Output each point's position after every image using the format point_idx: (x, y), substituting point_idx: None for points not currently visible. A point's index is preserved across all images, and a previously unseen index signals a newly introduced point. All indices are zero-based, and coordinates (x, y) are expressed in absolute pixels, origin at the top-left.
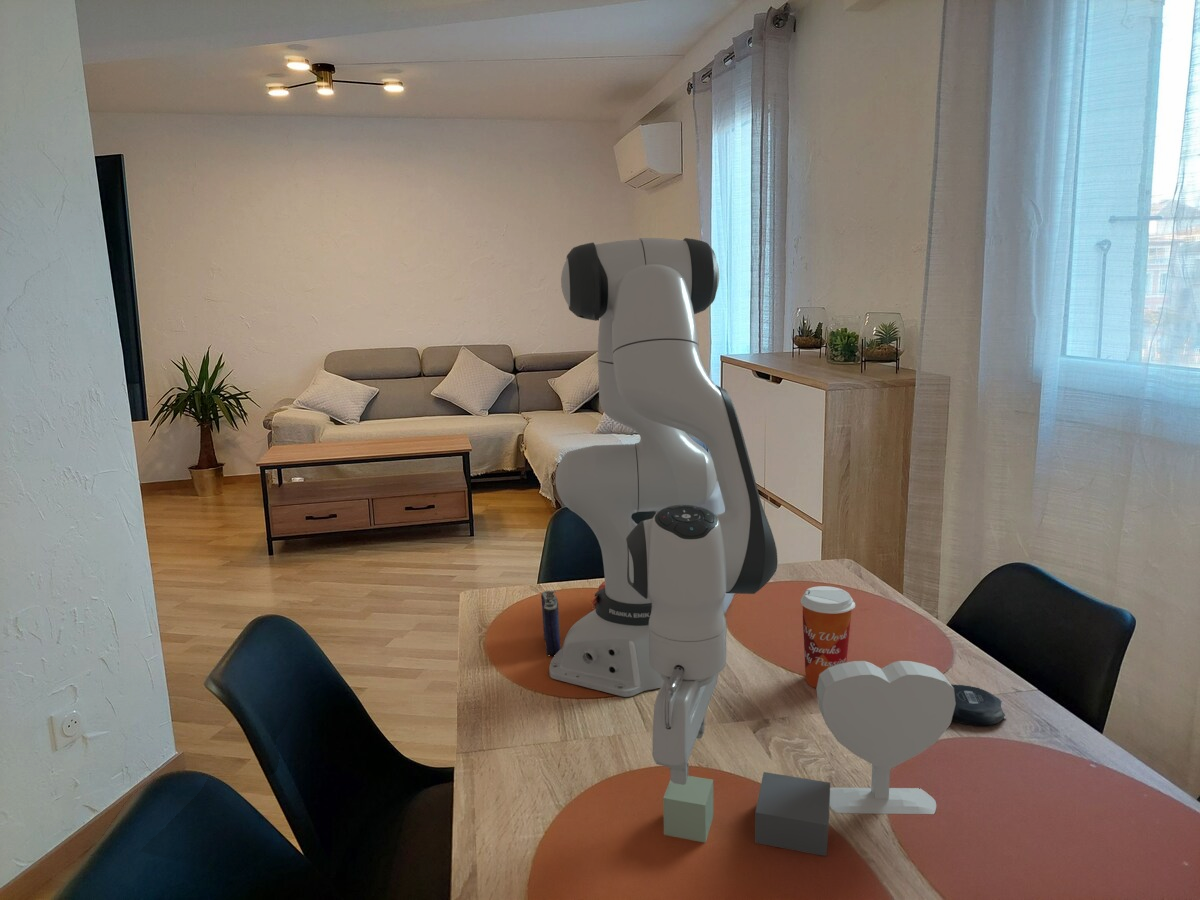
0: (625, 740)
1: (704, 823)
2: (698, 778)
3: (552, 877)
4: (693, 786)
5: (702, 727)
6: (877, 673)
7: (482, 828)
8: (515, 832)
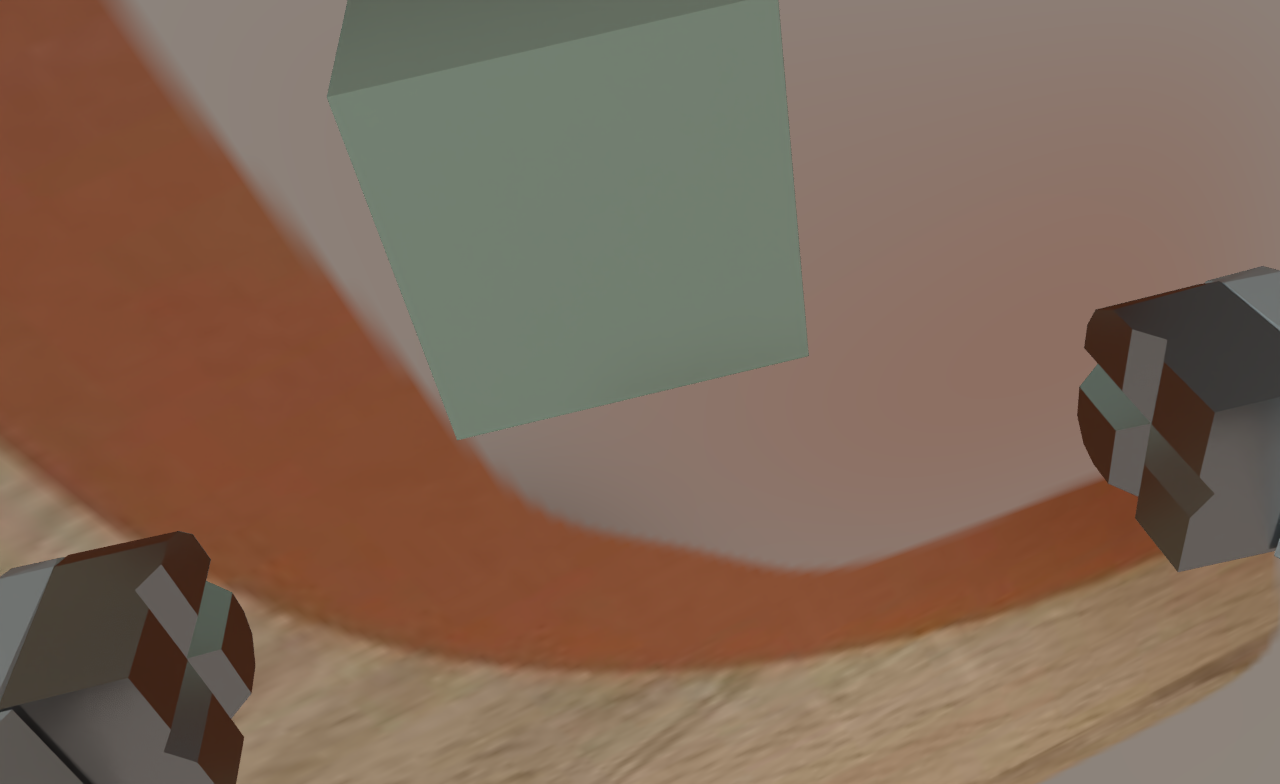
0: None
1: None
2: (399, 233)
3: None
4: (545, 220)
5: (111, 653)
6: None
7: (967, 776)
8: (955, 701)
